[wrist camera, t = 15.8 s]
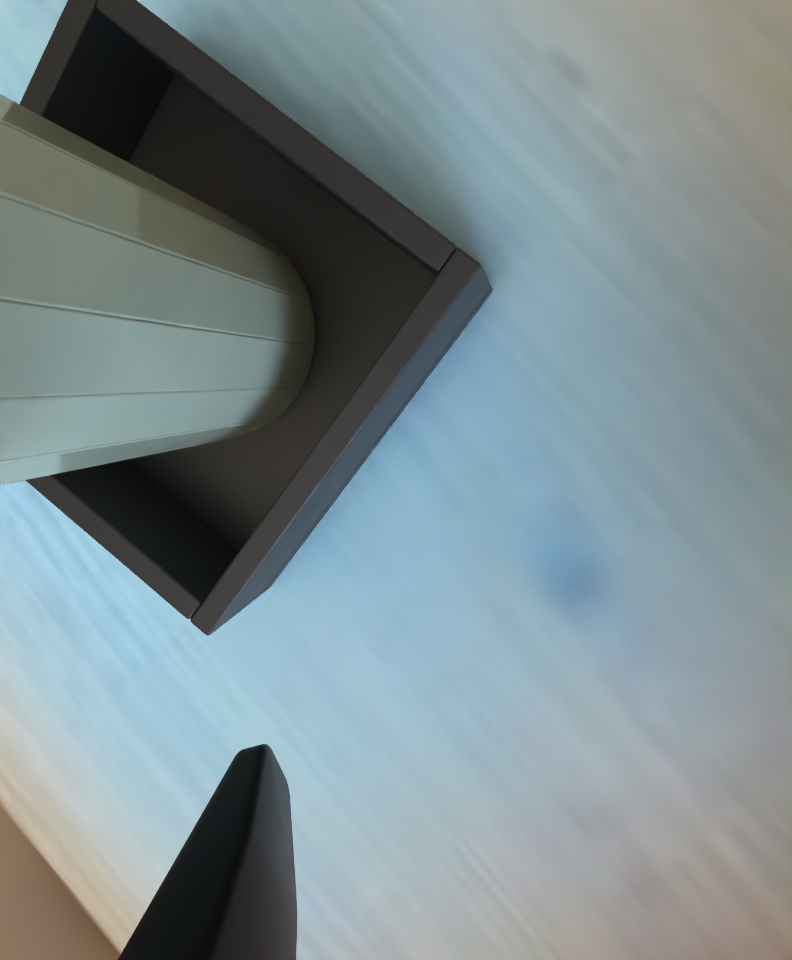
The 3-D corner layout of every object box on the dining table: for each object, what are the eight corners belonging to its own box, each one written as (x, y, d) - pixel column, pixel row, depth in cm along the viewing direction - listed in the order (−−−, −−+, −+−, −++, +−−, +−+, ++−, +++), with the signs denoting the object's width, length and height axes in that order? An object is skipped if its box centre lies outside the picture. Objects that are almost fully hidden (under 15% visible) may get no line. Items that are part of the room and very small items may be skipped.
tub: (493, 290, 17) (482, 264, 13) (269, 588, 20) (207, 637, 17) (180, 49, 18) (84, -40, 14) (10, 371, 21) (-106, 369, 17)
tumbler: (351, 381, 18) (-62, 388, 6) (182, 469, 20) (-426, 626, 7) (256, 181, 18) (-415, -294, 5) (92, 288, 19) (-708, 125, 7)
